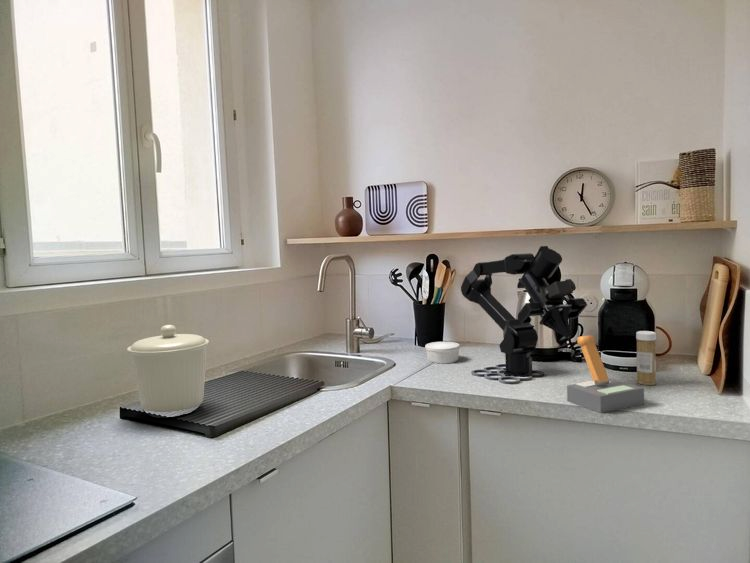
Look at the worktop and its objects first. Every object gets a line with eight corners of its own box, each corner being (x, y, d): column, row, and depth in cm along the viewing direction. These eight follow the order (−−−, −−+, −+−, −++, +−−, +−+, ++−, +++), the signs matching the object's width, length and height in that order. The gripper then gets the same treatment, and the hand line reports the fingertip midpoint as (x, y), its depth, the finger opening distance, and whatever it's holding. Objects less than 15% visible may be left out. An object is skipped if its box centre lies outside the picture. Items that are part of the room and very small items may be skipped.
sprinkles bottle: (659, 383, 134) (659, 331, 133) (650, 386, 131) (650, 334, 130) (642, 380, 137) (642, 329, 136) (632, 383, 135) (632, 331, 134)
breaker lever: (594, 387, 120) (575, 338, 125) (604, 385, 122) (586, 337, 126) (601, 384, 118) (582, 335, 123) (611, 382, 120) (592, 333, 124)
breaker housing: (567, 400, 122) (567, 384, 122) (608, 393, 127) (608, 377, 127) (600, 413, 113) (600, 395, 113) (643, 404, 118) (643, 387, 117)
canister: (137, 431, 112) (131, 334, 110) (127, 410, 127) (121, 324, 126) (221, 414, 122) (216, 324, 120) (202, 396, 137) (197, 317, 135)
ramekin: (432, 366, 162) (432, 349, 161) (421, 358, 173) (420, 343, 172) (465, 363, 164) (465, 346, 164) (452, 355, 175) (452, 340, 175)
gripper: (523, 271, 129) (555, 320, 120) (581, 267, 136) (615, 313, 127) (505, 300, 137) (533, 348, 128) (560, 295, 144) (591, 340, 135)
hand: (569, 337), depth 129 cm, fingers closed
